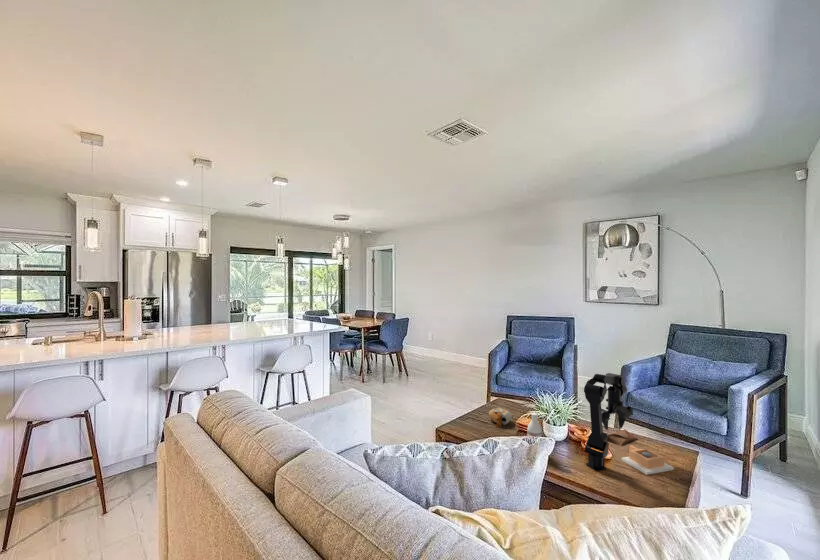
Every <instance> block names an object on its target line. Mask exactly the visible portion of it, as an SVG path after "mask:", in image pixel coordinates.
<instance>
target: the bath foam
mask: <svg viewBox="0 0 820 560" xmlns="http://www.w3.org/2000/svg"><path fill="white" fill-rule="evenodd" d="M538 415H539V414H538V413H535V412H532V413H531V421H530V422H529V423H528V426H527V428H526V429H527V432H526V437H527V436H542V437H543V435H542V433H543V430H542V427H541V426H542V425H540V423H539V421H538V420H539V419H538Z"/></svg>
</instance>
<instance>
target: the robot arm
mask: <svg viewBox="0 0 820 560" xmlns="http://www.w3.org/2000/svg"><path fill="white" fill-rule="evenodd" d="M597 383H598V384H603V385H604V386H601V385H596V384H597ZM606 384H607V385H609V387H607V385H606ZM627 392H628V389H627V386H626V383H625V380H624V378H623V376H622V375H621V374H617V373H611V372H608V373H606V374H600V373H594V375H593V377H591V378H590V379H588V380H587V382H586V383H585V385H584V388H583V393H584V396H585V399H586V400H587V402H588V403H589V412H590V426H591V432H590V433H589V435H588V438H587V440H586V444H585V446H584V452H585V454H586V453H587V454H588V455H587V456H588V459H587V460H588V462H586V463H585V465H586V466H588V467H589V468H591V469H592V470H594V471H595V472H597V471H598V472H599V471H602V470H607V469H608V468H607V467H606V466H605V464H606V463H605V462H606V461H605V458H606V457H607V456H608V452H609V445H610V444H609V442H608V439H607V436H608V434H607V433H606V432H604V430H603V427H604V429H605V430H607V431H608V430H609V420H611V418H610V417H611V415H616V414H617V419H618V424H619V428H621V429H623V426H624V424H625V422H626V420H627V419H628V418H630V417H631V416H633V415H634V413H633V411H634V410H633V407H632V406H625V405H624V402H623V401H621V400H622V399H621V397H622V396H623V395H625V394H627ZM606 394H607V398H605V396H606ZM604 399H605V401H606V402H607V406H605V409H604V408H602V402H603V400H604Z"/></svg>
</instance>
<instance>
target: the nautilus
mask: <svg viewBox="0 0 820 560" xmlns="http://www.w3.org/2000/svg"><path fill="white" fill-rule="evenodd" d="M488 416H489V417H490V419H491V420H492V421H493V422H494V423H496V424H494V425H493V427H494V426H495V427H494V428H495V429H496V428H498V429H500V428H501V427H502V426H505V425H507V424H509V422H510V421H511V420H512V418H513V415H512V414H511V412H510V411H508V410H507V409H504V408H501V407H500V408H499V407H496V408H492V409H491V410H489V412H488Z"/></svg>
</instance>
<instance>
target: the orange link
mask: <svg viewBox="0 0 820 560" xmlns="http://www.w3.org/2000/svg"><path fill="white" fill-rule="evenodd" d="M628 451H629V453H628V455H629V456H628V457H629V459H631V460H633V461H635V462H636V463H638V464H640V465H642V466H644V467H645V468H647V469H649V468H654V467H660V466H664V462H665V457H664V456H663V455H661V454H658V453H657V452H655V451H653V450H651V449H649V448H647V447H642V448H638V447H637V446H635V445H629V450H628ZM642 452H648V453H651V454H652V457H651V458H646V457H644V455H642Z"/></svg>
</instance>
